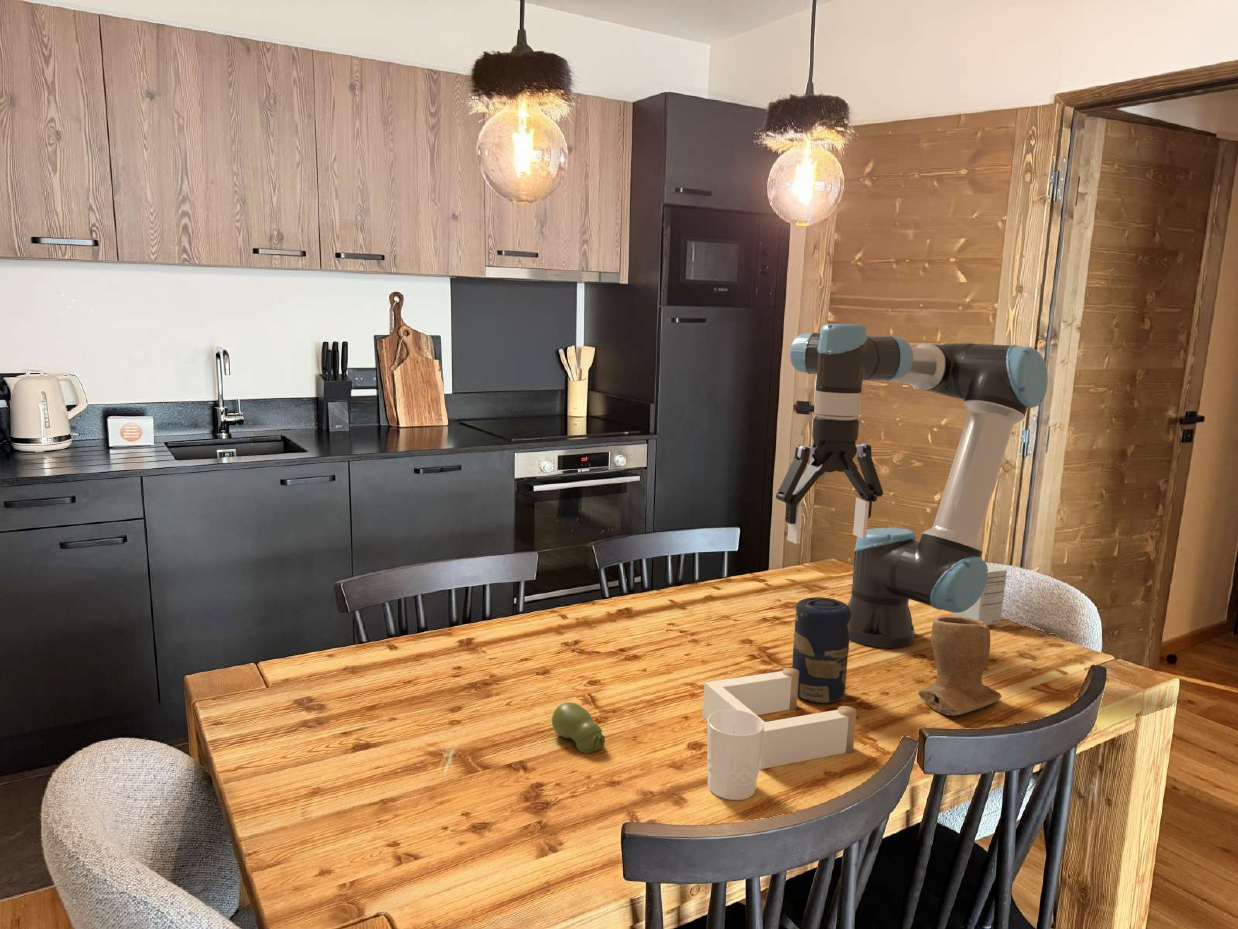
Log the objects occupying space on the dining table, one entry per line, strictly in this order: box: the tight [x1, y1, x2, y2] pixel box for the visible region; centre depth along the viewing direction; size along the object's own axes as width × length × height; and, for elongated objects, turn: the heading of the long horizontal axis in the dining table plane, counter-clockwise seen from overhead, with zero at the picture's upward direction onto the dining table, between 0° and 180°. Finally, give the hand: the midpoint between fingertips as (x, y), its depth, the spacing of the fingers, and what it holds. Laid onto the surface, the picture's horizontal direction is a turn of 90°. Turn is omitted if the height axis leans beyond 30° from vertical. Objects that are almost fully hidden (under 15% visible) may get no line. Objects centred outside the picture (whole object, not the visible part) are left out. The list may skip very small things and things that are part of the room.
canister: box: [791, 596, 851, 704], centre depth 153 cm, size 10×10×18 cm
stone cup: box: [917, 616, 1002, 717], centre depth 152 cm, size 15×12×15 cm
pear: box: [551, 702, 606, 755], centre depth 134 cm, size 6×5×10 cm
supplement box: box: [953, 562, 1008, 626], centre depth 196 cm, size 7×7×13 cm
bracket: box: [702, 667, 857, 770], centre depth 139 cm, size 17×18×6 cm
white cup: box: [706, 710, 765, 801], centre depth 122 cm, size 8×8×10 cm
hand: (827, 539), depth 150 cm, fingers open, 13 cm apart
